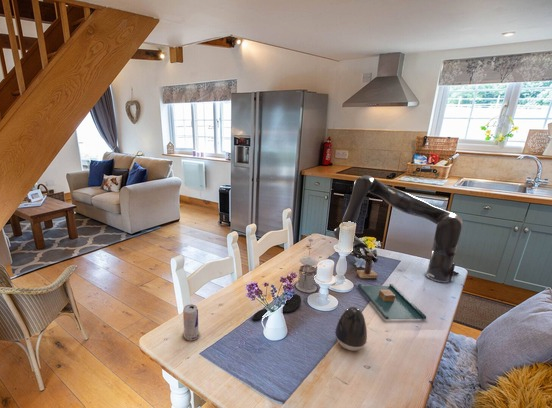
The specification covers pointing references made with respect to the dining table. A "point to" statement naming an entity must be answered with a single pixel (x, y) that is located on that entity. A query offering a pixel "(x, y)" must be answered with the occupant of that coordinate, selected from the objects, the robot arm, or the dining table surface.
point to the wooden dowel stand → (367, 270)
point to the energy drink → (190, 322)
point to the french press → (307, 274)
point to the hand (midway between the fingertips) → (372, 260)
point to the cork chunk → (386, 295)
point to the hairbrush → (286, 309)
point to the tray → (392, 303)
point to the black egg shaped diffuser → (351, 329)
